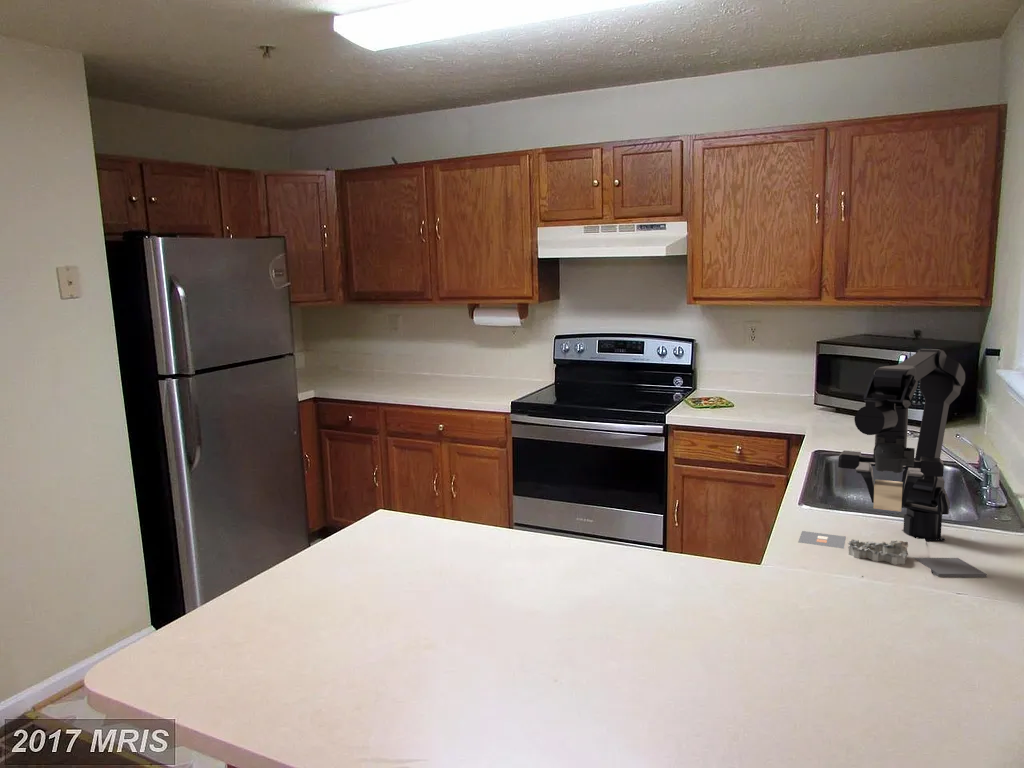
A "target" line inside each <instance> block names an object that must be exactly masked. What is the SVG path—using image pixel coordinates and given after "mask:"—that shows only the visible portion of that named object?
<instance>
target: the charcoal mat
mask: <svg viewBox="0 0 1024 768" xmlns="http://www.w3.org/2000/svg"><path fill="white" fill-rule="evenodd" d="M913 559H915V560H916V561H917V562H919V563H920V564H922V565H924V566H925V567H927V568H928V569H930V570H931V573H932V574H934V575H935V576H936V577H939V578H987V576H988V575H987V573H986V572H984V571H982V570H980V569H979V568H977V567H975V566H973V565H972V564H970V563H968V562H966V561H965V560H963V559H961V558H959V557H913Z"/></svg>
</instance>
